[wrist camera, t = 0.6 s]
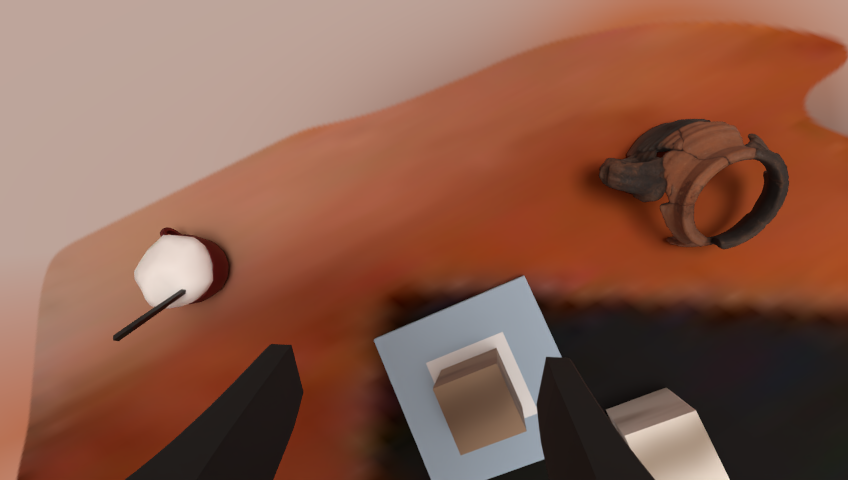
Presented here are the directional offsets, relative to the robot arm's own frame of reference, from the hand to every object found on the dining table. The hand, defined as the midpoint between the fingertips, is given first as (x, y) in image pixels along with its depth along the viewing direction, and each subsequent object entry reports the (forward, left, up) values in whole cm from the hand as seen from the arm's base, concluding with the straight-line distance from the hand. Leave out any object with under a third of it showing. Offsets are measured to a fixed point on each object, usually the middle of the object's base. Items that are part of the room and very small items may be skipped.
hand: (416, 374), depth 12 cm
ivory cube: (-15, -9, -24) cm, 30 cm away
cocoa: (+12, +22, -24) cm, 35 cm away
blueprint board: (-7, +2, -24) cm, 25 cm away
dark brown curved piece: (+2, -18, -25) cm, 31 cm away
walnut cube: (-7, +2, -23) cm, 24 cm away
